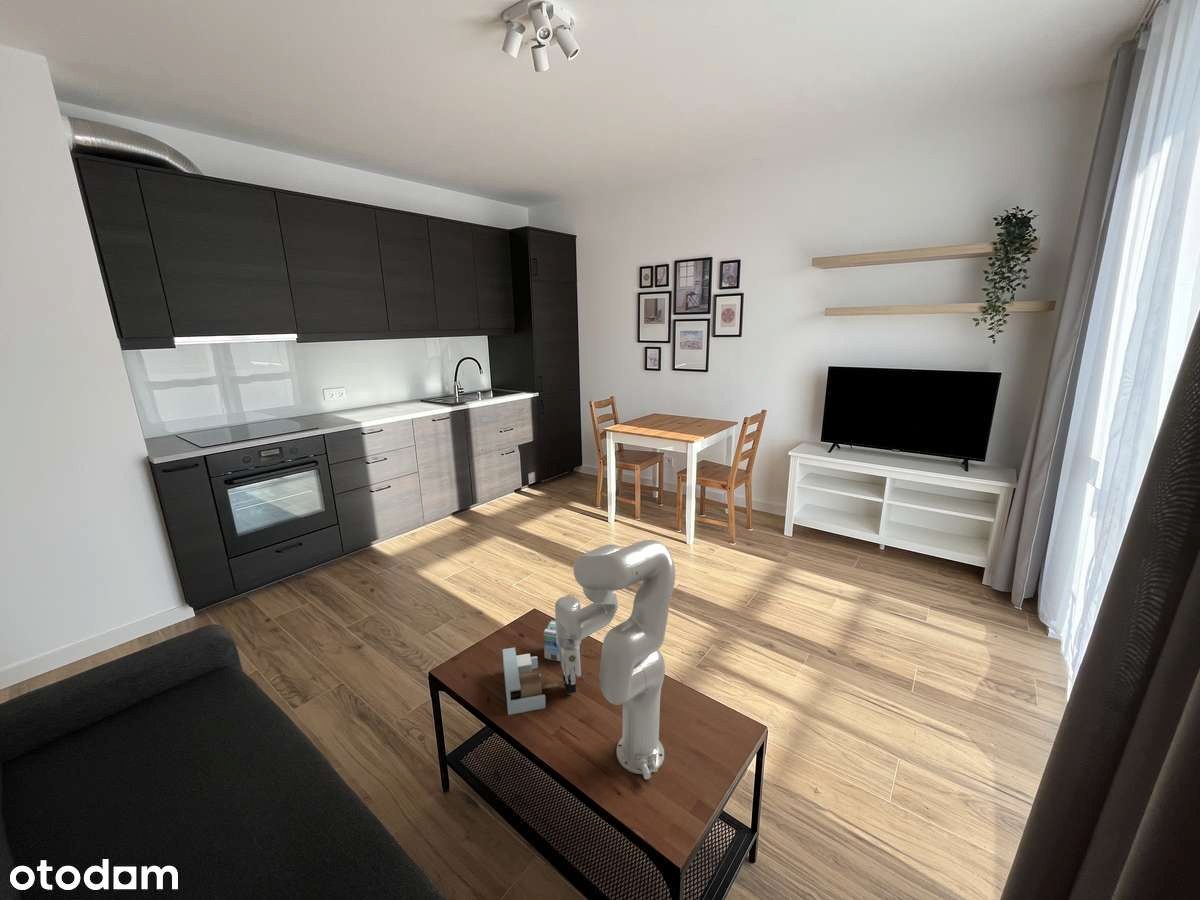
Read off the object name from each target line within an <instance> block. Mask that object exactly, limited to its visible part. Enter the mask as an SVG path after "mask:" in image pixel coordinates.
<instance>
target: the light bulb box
mask: <svg viewBox="0 0 1200 900" xmlns="http://www.w3.org/2000/svg"><path fill="white" fill-rule="evenodd" d="M543 639H544V640H543V641H544V643H543V644H544V645H543V647H544V650H543V653H544V659H547V660H551V661H555V662H556V661H557V662H560V663H561V661H560V648H559V646H558V645H557V644H556V621H555V620H550V622H549V623H548V625H547V627H546V628H545V629H544V631H543Z"/></svg>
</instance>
